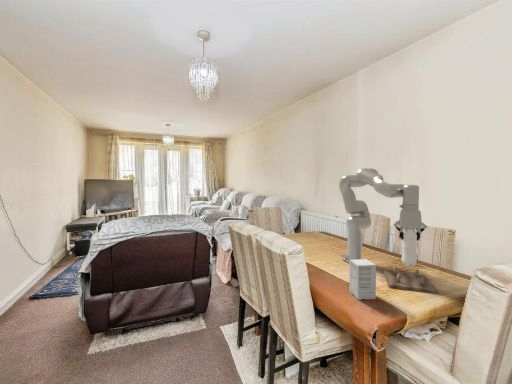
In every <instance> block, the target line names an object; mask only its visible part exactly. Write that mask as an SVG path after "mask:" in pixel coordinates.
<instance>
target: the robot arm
mask: <svg viewBox="0 0 512 384" xmlns="http://www.w3.org/2000/svg"><path fill="white" fill-rule="evenodd" d="M367 185H369V186H370V187H372V188H373V189H374V191H375V192H377V193H378V194H380V195H382V196H383V197H386V198H402V204H399V208H401V209H400V213H399V220H397V221H396V222H394V223H393V227H395V229H396V230H397V231H398V232H399V235H398V236H399V237H398V238H400V240H401V241H402V240H403V231H404V230H405V228H409V229H414V230H415V231H416V234H417V242H418V241H420V239H421V233H423V232H424V231H425V230H426V229H427V228H428V226H427V225H426V223H424V222H423V220H422V213H421V210H420V209H419V205H420V204H419V203H420V202H419V201H420V186H419V185H418V184H403V183H396V184H395V183H393V184H391V183H388V182H386V181H384V176H383V175H381V173H380V174H379V171H378V170H377V169H375V168H368V167H367V168H360V169H358V170H357V172H356V174H348V175H344V176H342V177H341V178H340V180H339V184H338V186H339V191H340V194H341V196H342V197H341V198H342V201H343V205H344V209H345V210H344V211H345V213H347V214H348V215H351V216H348V218H347V219H346V221H345V223H346V224H345V225H346V231H347V244H346V245H347V249H346V250H347V252H346V253H345V254H343V253H340V257H341V258H343V259H344V261H345V262H346V263H349V264H350V260H356V259H363V234H362V232H361V230H365V229H369V228H370V227H371V226H372V219H371V215H370V211H369V207H368V205H367V203H366V202H365V201H364V200H361V199H359V200H358V199H357V198H356V194H355V191H354V190H353V189H352V188H361V187H366V186H367ZM352 215H353V216H352Z"/></svg>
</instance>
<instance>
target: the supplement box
mask: <svg viewBox="0 0 512 384" xmlns="http://www.w3.org/2000/svg"><path fill="white" fill-rule="evenodd" d="M376 284H377V265H376V264H375V263H373V262H372V261H370V260H368V259H366V258H364V259H363V258H362V259H356V260H350V263H349V286H348V287H349V289H348V292H349V291H350V292H351V293H352V294H353V295H354V296H355V297H356V298H357V299H358V300H357V299H356V298H355V297H354V296H353V295H352V294H351V293H350V292H349V293H350V294H351V295H352V296H353V297H354V298H355V299H356V300H357V301H360V300H362V299H365V300H376V297H377V296H376V295H377V292H376V291H377V285H376ZM362 301H363V300H362Z"/></svg>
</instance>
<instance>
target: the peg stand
mask: <svg viewBox="0 0 512 384" xmlns="http://www.w3.org/2000/svg"><path fill="white" fill-rule="evenodd" d="M419 272H420V271H419V269H415V273H413V272H404V271H398V268H397V267H394V266H393V270H385V269H383V271H382V273H383V275H384V278H385V280H386V283H387V286H388V288H392V289H397V290H398V289H399V290H406V291H413V292H422V293H428V294H429V293H430V294H431V293H432V294H437V295H438V294H439V290H438V289H437V287H436V286H435V285H434V284H433V282H432V281H431V280H430V279H429V277H428V276H427V275H426V274H424V273H423V274H421V273H419Z"/></svg>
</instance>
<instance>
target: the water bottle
mask: <svg viewBox="0 0 512 384" xmlns="http://www.w3.org/2000/svg"><path fill="white" fill-rule="evenodd" d="M416 233H417V231H416V229H409V228H404V229H403V240H401V241H402V242H401V247H402V248H401V249H402V252H401V253H402V255H401V263H402V266H404V267H407V268H409V267H411V268H415V266H416V265H417V262H418V261H417V255H416V254H417V246H418V245H417V244H418V243H417V242H418V240H417V234H416Z"/></svg>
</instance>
